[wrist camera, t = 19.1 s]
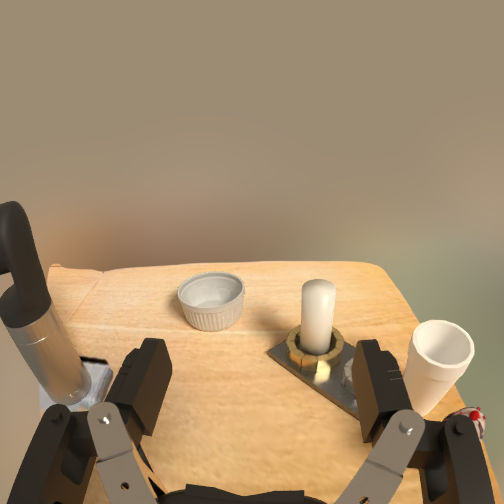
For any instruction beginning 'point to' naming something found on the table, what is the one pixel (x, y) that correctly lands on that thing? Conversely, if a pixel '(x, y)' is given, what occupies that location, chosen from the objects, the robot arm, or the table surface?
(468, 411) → the ice cream cone
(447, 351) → the foam cup
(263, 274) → the table surface
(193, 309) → the ramekin
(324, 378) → the grey ring holder base
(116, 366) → the table surface
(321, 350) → the white rounded cylinder
